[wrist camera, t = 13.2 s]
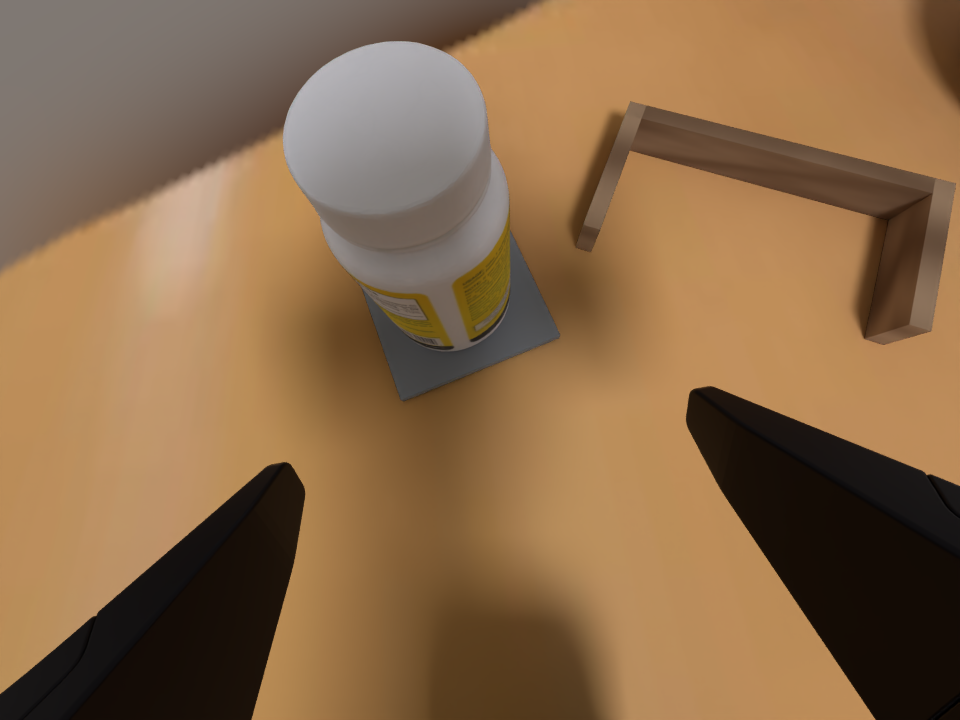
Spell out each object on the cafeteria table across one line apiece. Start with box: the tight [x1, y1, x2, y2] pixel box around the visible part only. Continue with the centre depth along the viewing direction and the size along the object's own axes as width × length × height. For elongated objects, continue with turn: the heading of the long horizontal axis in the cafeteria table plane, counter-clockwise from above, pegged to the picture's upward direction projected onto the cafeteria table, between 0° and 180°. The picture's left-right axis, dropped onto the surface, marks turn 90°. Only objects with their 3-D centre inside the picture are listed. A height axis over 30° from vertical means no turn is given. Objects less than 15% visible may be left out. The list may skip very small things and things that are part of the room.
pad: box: [362, 231, 560, 401], centre depth 24 cm, size 10×10×1 cm
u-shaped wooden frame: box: [576, 101, 956, 345], centre depth 23 cm, size 9×18×2 cm, turn 68°
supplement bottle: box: [283, 41, 510, 351], centre depth 17 cm, size 7×7×13 cm
